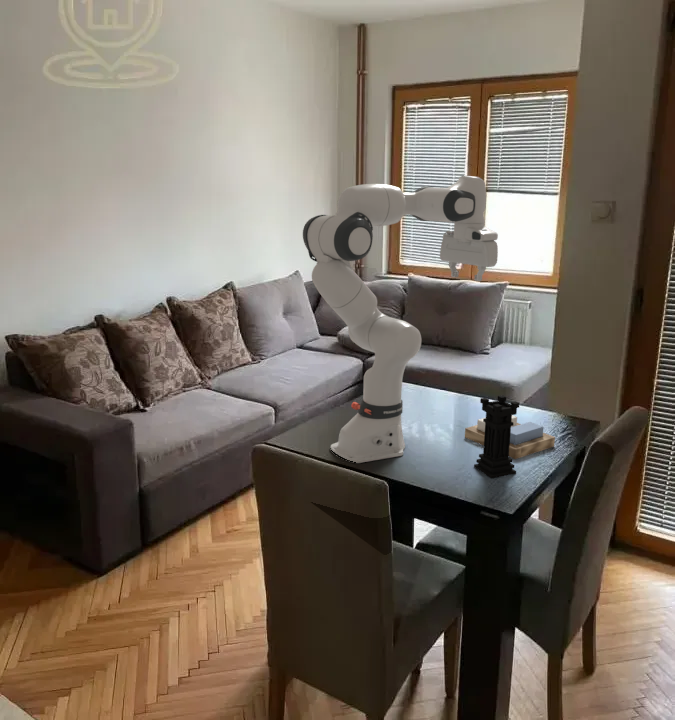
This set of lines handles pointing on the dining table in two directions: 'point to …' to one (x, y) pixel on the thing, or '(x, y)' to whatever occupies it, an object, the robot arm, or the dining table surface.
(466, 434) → the key console
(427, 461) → the dining table surface
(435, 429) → the dining table surface
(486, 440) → the chess piece
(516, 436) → the blue-grey rectangular block
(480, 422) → the ivory key
